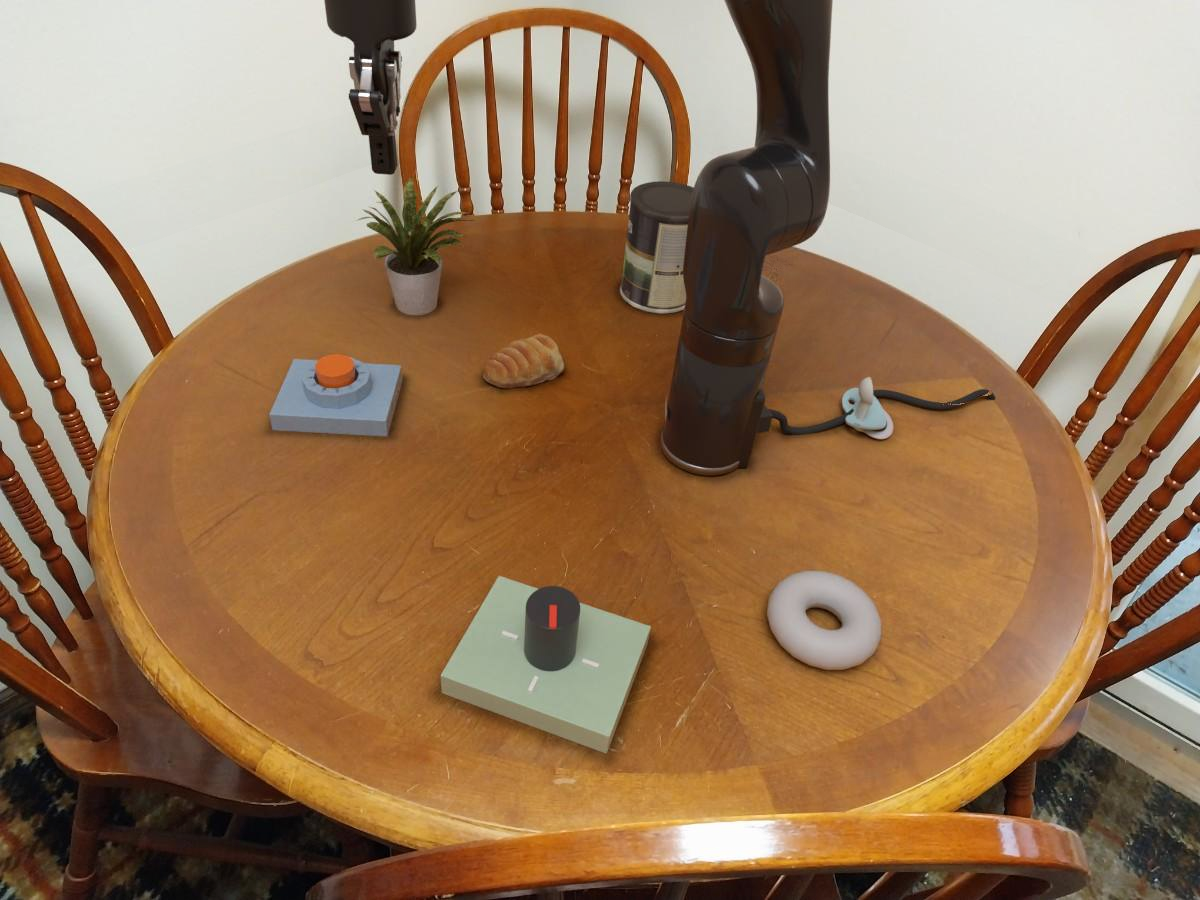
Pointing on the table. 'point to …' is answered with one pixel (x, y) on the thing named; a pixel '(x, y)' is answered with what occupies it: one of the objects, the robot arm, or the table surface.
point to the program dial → (551, 628)
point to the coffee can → (656, 247)
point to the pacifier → (866, 411)
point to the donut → (814, 641)
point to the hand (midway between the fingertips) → (385, 170)
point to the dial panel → (547, 698)
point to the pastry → (524, 363)
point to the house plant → (414, 250)
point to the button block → (338, 401)
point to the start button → (335, 371)
